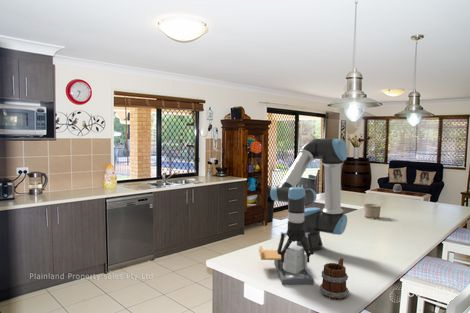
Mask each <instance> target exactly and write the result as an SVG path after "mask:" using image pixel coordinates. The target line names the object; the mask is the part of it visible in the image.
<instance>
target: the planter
mask: <svg viewBox="0 0 470 313" xmlns="http://www.w3.org/2000/svg"><path fill="white" fill-rule="evenodd" d="M363 206H364V208H363V209H364V217H365V218H366V217H368V218H367V219H369V218H378V219H380V215H381V210H382V209H381V208H382V205H381V204H377V203H365V204H364V205H363Z"/></svg>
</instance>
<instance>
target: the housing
mask: <svg viewBox="0 0 470 313" xmlns="http://www.w3.org/2000/svg"><path fill="white" fill-rule="evenodd" d="M273 261H274V262H273V264H274V267H275V269H276V272H277V276H278V278H279V280H280V282H281V285H282V286H284V285H286V286H314V284H315V283H314V282H315V279H314V278H313V275H312V274H311V272H310V271H309V269H308V268H307V270H305V269H303V270H302V271H300V272H298V273H297V274H294V273H290V272H287V271H286V270H284V269H283V262H281V260H273Z"/></svg>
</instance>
